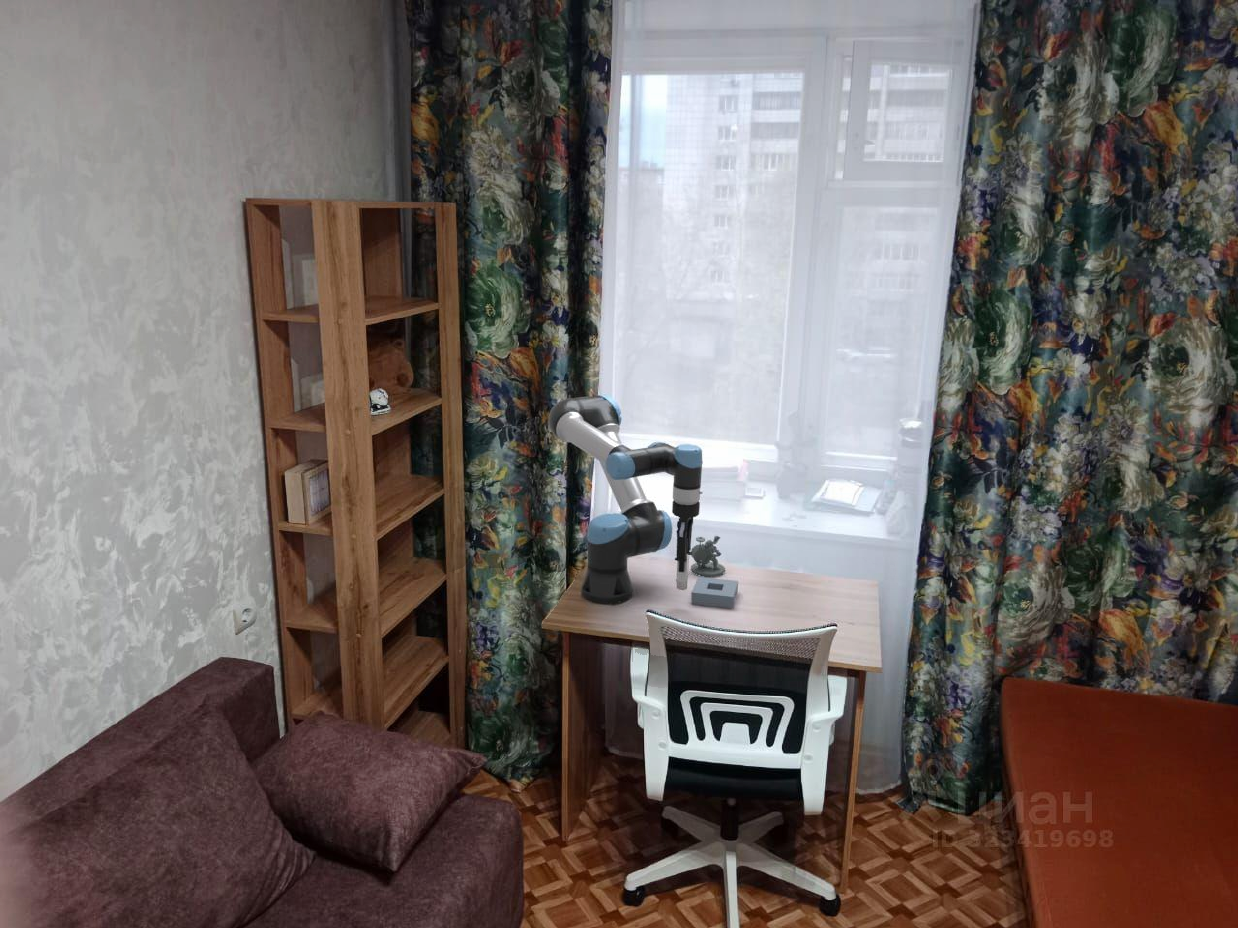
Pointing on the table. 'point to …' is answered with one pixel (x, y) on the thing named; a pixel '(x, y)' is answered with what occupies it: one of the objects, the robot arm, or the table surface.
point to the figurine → (706, 558)
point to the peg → (684, 584)
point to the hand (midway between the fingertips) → (682, 578)
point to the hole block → (714, 592)
